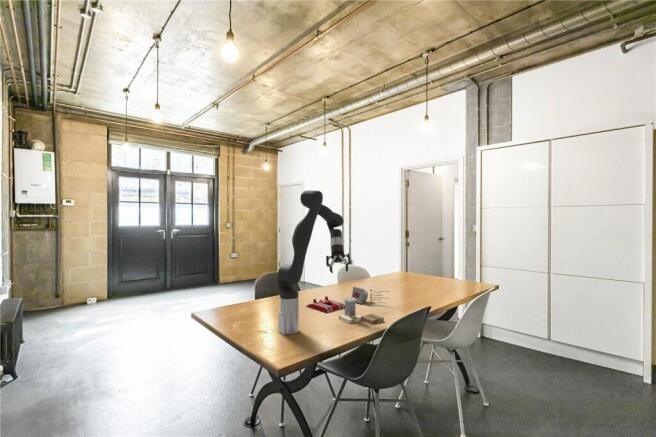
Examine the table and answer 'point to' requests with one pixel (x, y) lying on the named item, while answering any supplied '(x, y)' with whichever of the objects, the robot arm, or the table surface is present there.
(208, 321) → the table surface
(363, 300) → the voltmeter
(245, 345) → the table surface
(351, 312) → the block
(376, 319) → the stand
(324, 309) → the fire alarm
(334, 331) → the table surface
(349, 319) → the stand
